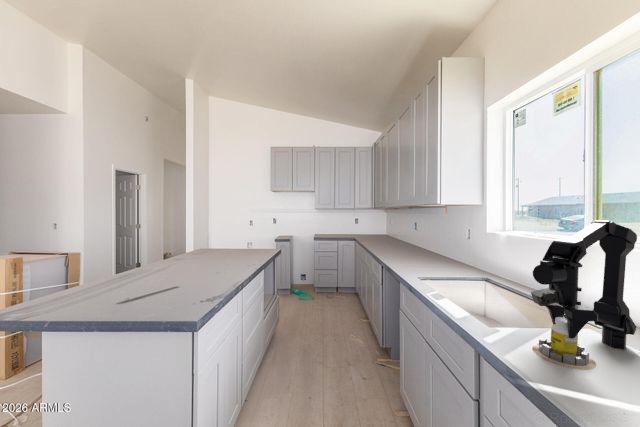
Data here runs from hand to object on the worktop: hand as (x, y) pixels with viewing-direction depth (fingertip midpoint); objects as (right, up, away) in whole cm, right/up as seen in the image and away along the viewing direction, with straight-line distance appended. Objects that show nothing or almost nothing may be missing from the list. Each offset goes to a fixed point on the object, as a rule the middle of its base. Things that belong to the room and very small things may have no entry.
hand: (563, 333), depth 89 cm
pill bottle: (0, -7, 0) cm, 7 cm away
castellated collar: (0, -7, 0) cm, 7 cm away
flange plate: (0, -8, 0) cm, 8 cm away
